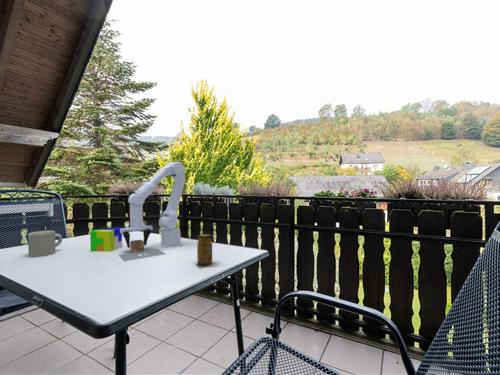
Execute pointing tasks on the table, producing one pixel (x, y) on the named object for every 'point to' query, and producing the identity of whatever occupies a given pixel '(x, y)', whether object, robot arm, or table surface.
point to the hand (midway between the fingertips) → (136, 246)
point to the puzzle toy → (105, 239)
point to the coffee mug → (42, 243)
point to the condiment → (204, 251)
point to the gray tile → (141, 254)
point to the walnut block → (137, 246)
